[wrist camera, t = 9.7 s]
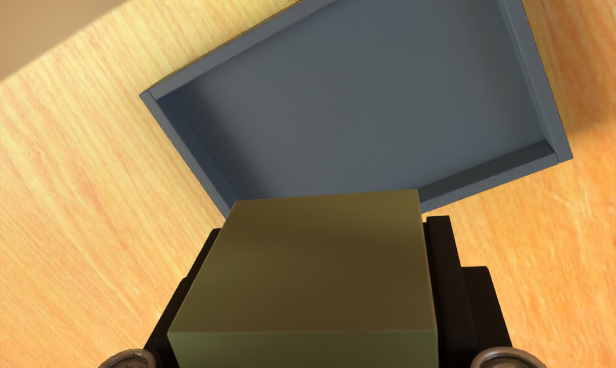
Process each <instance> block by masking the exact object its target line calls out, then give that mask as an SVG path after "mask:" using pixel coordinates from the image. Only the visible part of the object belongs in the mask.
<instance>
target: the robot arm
mask: <svg viewBox="0 0 616 368" xmlns="http://www.w3.org/2000/svg"><path fill="white" fill-rule="evenodd" d="M426 221H427V222H423V230H424V237H425V245H426V252H427V259H428V266H429V273H430V280H431V288H432V295H433V302H434V309H435V316H436V323H437V331H438V360H439V368H547V367H546V366H545V364H543V363H542V362H541V361H540V360H539V359H538V358H536V357H535V356H533V355H531V354H529V353H527V352H525V351H523V350H520V349H516V348H513V346H512V343H511V340H510V337H509V334H508V330H507V327H506V324H505V321H504V318H503V314H502V311H501V308H500V305H499V301H498V298H497V295H496V292H495V289H494V285H493V282H492V279H491V276H490V273H489V270H488V268H487V267H486V266H475V267H461V264H460V260H459V256H458V251H457V247H456V243H455V239H454V234H453V230H452V226H451V222H450V217H449V215H447V216H429V217H427V219H426ZM220 230H221V228H215V229H213V230H212V231H211V233H210V235H209V237H208V238H207V240H206V242H205V244H204V246H203V248H202V249H201V251H200V253H199V255H198V257H197V258H196V260H195V262H194V264H193V266H192V268H191V269H190V271H189V273H188V275H187V277H185V278H183V279H182V281H181V282H180V284H179V285H178V287H177V289H176V291H175V292H174V294H173V296H172V298H171V300H170V301H169V303H168V305H167V307H166V309H165V310H164V312H163V314H162V316H161V318H160V319H159V321H158V323H157V325H156V327H155V328H154V330H153V332H152V334H151V335H150V337H149V339H148V341H147V343H146V344H145V346H144V348H143V349H129V350H126V351H122V352H119V353H117V354H116V355H114V356H112V357H110V358H109V359H107V360H106V361H105V362H103V363H102V364H101V365H100V366H99V367H98V368H180V366H179V364H178V361H177V359H176V356H175V354H174V351H173V349H172V346H171V343H170V341H169V338H168V336H167V333H168V330H169V328H170V326H171V324H172V322H173V321H174V319H175V317H176V315H177V313H178V311H179V309H180V307H181V305H182V303H183V301H184V299H185V298H186V296H187V294H188V292H189V290H190V288H191V286H192V284H193V282H194V280H195V278H196V276H197V275H198V273H199V271H200V269H201V267H202V265H203V263H204V261H205V259H206V257H207V255H208V253H209V252H210V250H211V248H212V246H213V244H214V242H215V240H216V238H217V236H218V234H219V232H220Z"/></svg>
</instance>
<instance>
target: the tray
mask: <svg viewBox="0 0 616 368" xmlns="http://www.w3.org/2000/svg"><path fill="white" fill-rule="evenodd" d="M139 97H140V98H141V99H142V101H143V102H144V104H145V105H146V107H147V108H148V109H149V111H150V112H151V114H152V115H153V117H154V118H155V119H156V121H157V122H158V124H159V125H160V127H161V128H162V129H163V131H164V132H165V134H166V135H167V137H168V138H169V139H170V141H171V142H172V144H173V145H174V147H175V148H176V149H177V151H178V152H179V154H180V155H181V157H182V158H183V159H184V161H185V162H186V164H187V165H188V167H189V168H190V169H191V171H192V172H193V174H194V175H195V176H196V178H197V179H198V181H199V182H200V184H201V185H202V186H203V188H204V189H205V191H206V192H207V194H208V195H209V196H210V198H211V199H212V201H213V202H214V204H215V205H216V206H217V208H218V209H219V211H220V212H221V214H222V215H223V216H224V218H225V219H227V217H228V215H229V213H230V211H231V209H232V207H233V205H234V204H235V202H236V201H241V200H256V199H271V198H286V197H301V196H316V195H331V194H346V193H361V192H376V191H391V190H406V189H417V190H418V194H419V202H420V209H421V214H423V213H426V212H428V211H431V210H434V209H436V208H439V207H442V206H445V205H447V204H450V203H453V202H456V201H458V200H461V199H464V198H467V197H469V196H472V195H475V194H477V193H480V192H483V191H486V190H488V189H491V188H494V187H497V186H499V185H502V184H505V183H508V182H510V181H513V180H516V179H519V178H521V177H524V176H527V175H529V174H532V173H535V172H538V171H540V170H543V169H546V168H549V167H551V166H554V165H557V164H559V163H562V162H565V161H567V160H570V159H572V158H573V155H572V152H571V149H570V146H569V143H568V140H567V137H566V134H565V131H564V128H563V125H562V122H561V119H560V116H559V113H558V110H557V107H556V104H555V101H554V98H553V95H552V92H551V88H550V85H549V82H548V79H547V76H546V73H545V70H544V67H543V64H542V61H541V58H540V55H539V52H538V49H537V46H536V43H535V40H534V37H533V34H532V31H531V28H530V25H529V22H528V19H527V16H526V13H525V10H524V7H523V4H522V1H521V0H299V1H297V2H296V3H294V4H292V5H290V6H289V7H287V8H285V9H283V10H282V11H280V12H278V13H276V14H275V15H273V16H271V17H269V18H268V19H266V20H264V21H262V22H261V23H259V24H257V25H255V26H254V27H252V28H250V29H248V30H247V31H245V32H243V33H241V34H240V35H238V36H236V37H234V38H233V39H231V40H229V41H227V42H226V43H224V44H222V45H220V46H219V47H217V48H215V49H214V50H212V51H210V52H208V53H207V54H205V55H203V56H201V57H200V58H198V59H196V60H194V61H193V62H191V63H189V64H187V65H186V66H184V67H182V68H180V69H179V70H177V71H175V72H173V73H172V74H170V75H168V76H166V77H165V78H163V79H161V80H159V81H158V82H156V83H155V84H153V85H152V86H150V87H149V88H148V89H146V90H145V91H143V92H142V93H141V94H139Z"/></svg>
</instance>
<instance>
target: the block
mask: <svg viewBox="0 0 616 368" xmlns="http://www.w3.org/2000/svg"><path fill="white" fill-rule="evenodd" d="M167 336H168V338H169V341H170V343H171V346H172V349H173V351H174V354H175V356H176V359H177V361H178V364H179V366H180V368H439V360H438V331H437V323H436V316H435V309H434V302H433V295H432V288H431V280H430V273H429V266H428V259H427V252H426V245H425V237H424V230H423V223H422V216H421V209H420V202H419V194H418V190H417V189H406V190H391V191H376V192H361V193H346V194H331V195H316V196H301V197H286V198H271V199H256V200H241V201H236V202H235V204H234V205H233V207H232V209H231V211H230V213H229V215H228V217H227V219H226V221H225V223H224V225H223V227H222V228H221V230H220V232H219V234H218V236H217V238H216V240H215V242H214V244H213V246H212V248H211V250H210V252H209V253H208V255H207V257H206V259H205V261H204V263H203V265H202V267H201V269H200V271H199V273H198V275H197V276H196V278H195V280H194V282H193V284H192V286H191V288H190V290H189V292H188V294H187V296H186V298H185V299H184V301H183V303H182V305H181V307H180V309H179V311H178V313H177V315H176V317H175V319H174V321H173V322H172V324H171V326H170V328H169V330H168V333H167Z"/></svg>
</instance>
